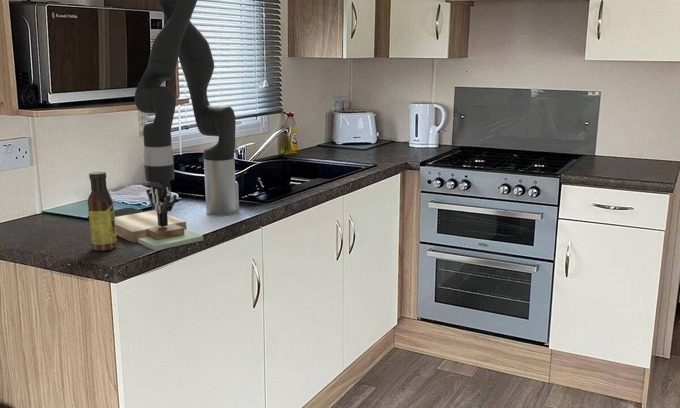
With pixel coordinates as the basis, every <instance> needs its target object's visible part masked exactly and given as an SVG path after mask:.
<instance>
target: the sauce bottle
mask: <svg viewBox="0 0 680 408" xmlns="http://www.w3.org/2000/svg"><path fill="white" fill-rule="evenodd" d="M88 177H89V180H90V187H91V188H90V190H91V191H90V194H89V196H88V198H87V206H88V207H87V208H88V210H87V212H88V214H87V215H88V216H89V219H88V222H89V232H90V239H91V240H90V241H91V245H92V247H91V248H92V249H93V250H94V251H96V252H105V251H111V250H114V249H115V248H116V247H117V241H118V240H117V239H118V237H117V235H116V227H115V215H114V210H115V208H114V207H115V206H114V201H113V199H112V197H111V195H110V192H109V190H108V187H107V172H105V171H94V172H89V173H88Z"/></svg>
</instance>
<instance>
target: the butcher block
mask: <svg viewBox="0 0 680 408" xmlns="http://www.w3.org/2000/svg"><path fill="white" fill-rule="evenodd" d="M167 218H168V224H176V225H178V226H181V227H183V228H184V229H186V230H188V229H187V221H186V220H184V219H181V218H178V217H175V216H172V215H170V214H168V213H167ZM158 226H159V225H158V218H157V212H156V211H155V209H153V210H147V211H144V212H143V211H142V213H136V214H130V215H124V216H119V217H115V227H116V236H119V237H120V238H123V239H124V240H127V241H129V242H131V243H133V244H134V243H138V241H137V238H140V237H145V236H147V231H146V229H147V228H153V227H158Z"/></svg>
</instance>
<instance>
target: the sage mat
mask: <svg viewBox="0 0 680 408" xmlns="http://www.w3.org/2000/svg"><path fill="white" fill-rule="evenodd" d="M184 234H185V235H182V236H177V237H172V238H168V239H163V240H158V241H157V240H155V239H153V238H150V237H148V236H145V237H140V238H137V241H138V242H137V243H139V244H141V245H143V246H144V247H146V248H149V249H150V250H153V251H155V250H156V251H160V250H159V249H161V250H164V248H165V249H166V250H167V249H170V248H174V247H180V246H182V245H183V246H184V245H188V244H193V243H196V242H197V243H198V242H202V241H204V236H203V235H202V234H199V233H196V232H194V231H191V230H189V229H187V230H186V229H184Z"/></svg>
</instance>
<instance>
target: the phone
mask: <svg viewBox="0 0 680 408" xmlns="http://www.w3.org/2000/svg"><path fill="white" fill-rule="evenodd" d="M142 212H143V210H142V209H137V208H134V207H124V208H123V207H122V208H118V209H114V215H115V217H119V216H124V215H130V214H136V213H142ZM88 218H89V215H87V219H88Z"/></svg>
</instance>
